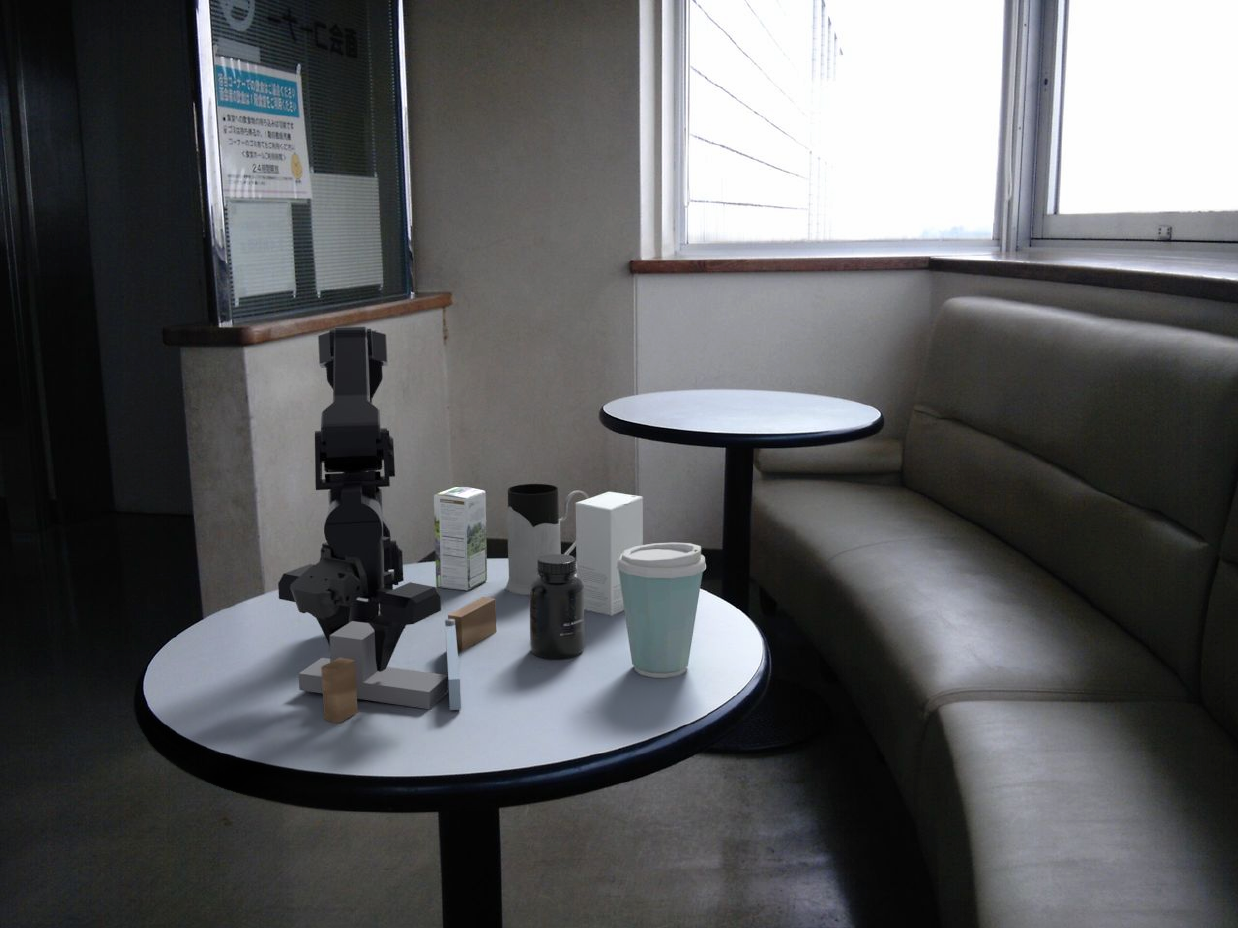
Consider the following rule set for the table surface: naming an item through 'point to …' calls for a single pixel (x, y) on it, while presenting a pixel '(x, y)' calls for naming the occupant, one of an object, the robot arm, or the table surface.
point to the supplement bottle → (556, 608)
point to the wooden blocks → (340, 673)
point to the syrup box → (460, 538)
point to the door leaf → (452, 665)
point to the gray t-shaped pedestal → (375, 672)
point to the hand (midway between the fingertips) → (360, 665)
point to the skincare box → (605, 546)
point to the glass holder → (532, 531)
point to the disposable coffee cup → (661, 604)
